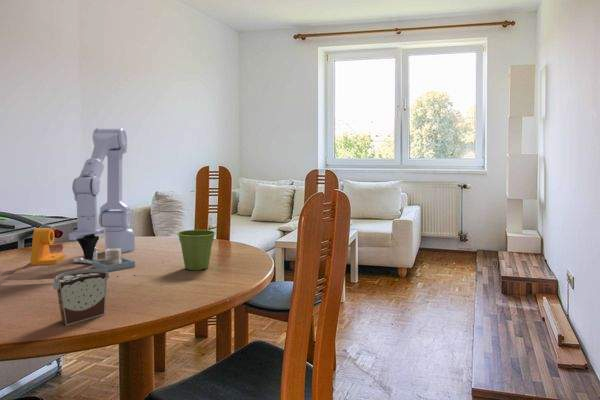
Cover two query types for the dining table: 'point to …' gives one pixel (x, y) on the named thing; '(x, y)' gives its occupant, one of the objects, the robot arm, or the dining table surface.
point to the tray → (113, 265)
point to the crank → (78, 260)
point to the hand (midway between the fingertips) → (88, 259)
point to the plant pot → (196, 248)
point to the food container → (81, 294)
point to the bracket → (44, 248)
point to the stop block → (113, 256)
